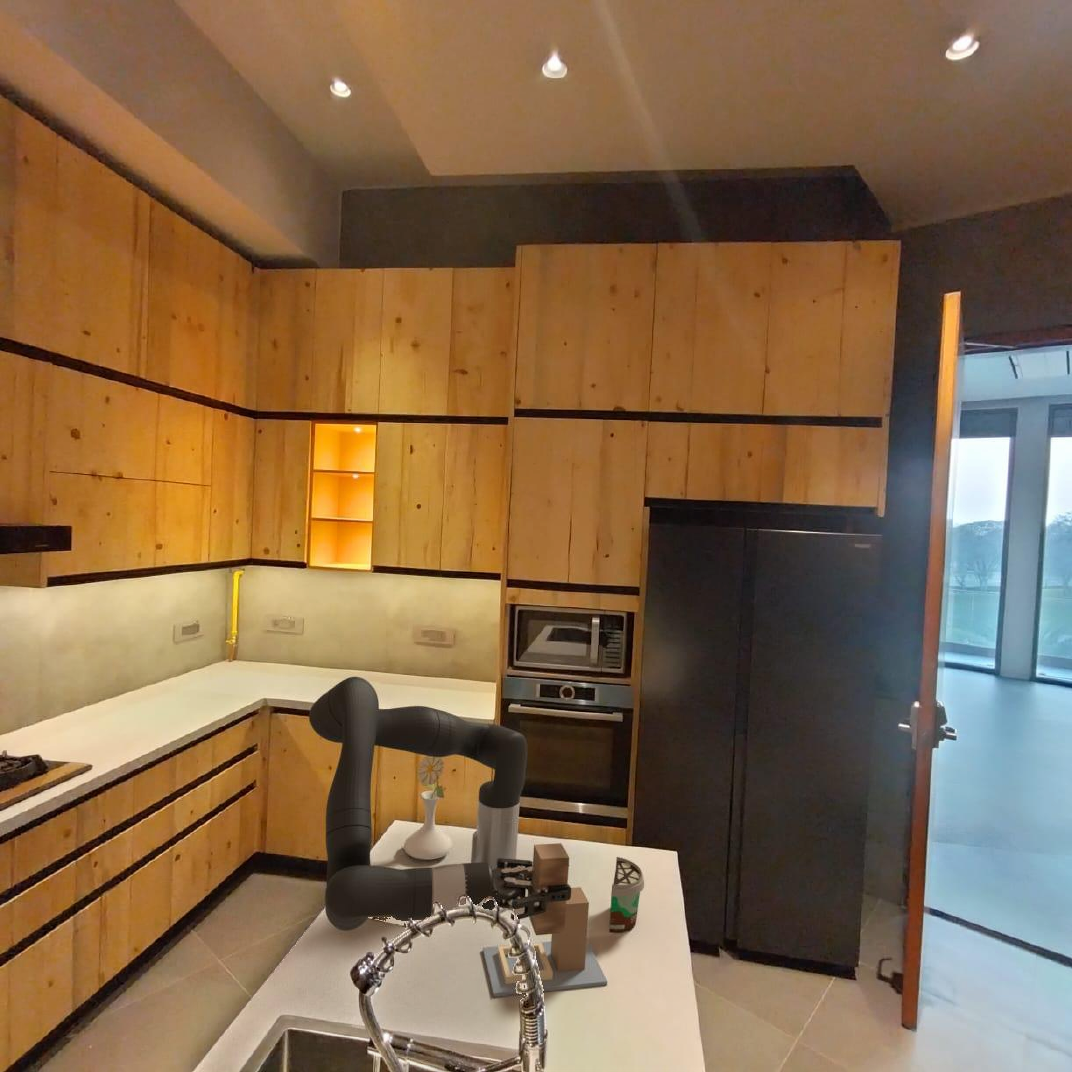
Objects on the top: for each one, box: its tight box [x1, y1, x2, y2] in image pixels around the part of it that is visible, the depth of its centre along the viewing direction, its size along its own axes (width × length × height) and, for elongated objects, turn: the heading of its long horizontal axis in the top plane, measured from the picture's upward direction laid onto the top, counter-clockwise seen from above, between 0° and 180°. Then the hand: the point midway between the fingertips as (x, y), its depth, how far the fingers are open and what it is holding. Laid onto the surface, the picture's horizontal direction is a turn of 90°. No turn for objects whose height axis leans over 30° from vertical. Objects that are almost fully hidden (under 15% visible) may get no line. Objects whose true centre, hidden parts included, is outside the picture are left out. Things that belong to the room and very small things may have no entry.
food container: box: [608, 856, 645, 934], centre depth 133 cm, size 12×6×10 cm, turn 168°
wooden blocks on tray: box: [482, 886, 608, 998], centre depth 117 cm, size 20×12×13 cm, turn 103°
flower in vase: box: [403, 755, 453, 860], centre depth 155 cm, size 13×11×25 cm
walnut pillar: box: [528, 842, 570, 936], centre depth 105 cm, size 5×5×12 cm
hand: (565, 883), depth 105 cm, fingers closed on walnut pillar, 4 cm apart
